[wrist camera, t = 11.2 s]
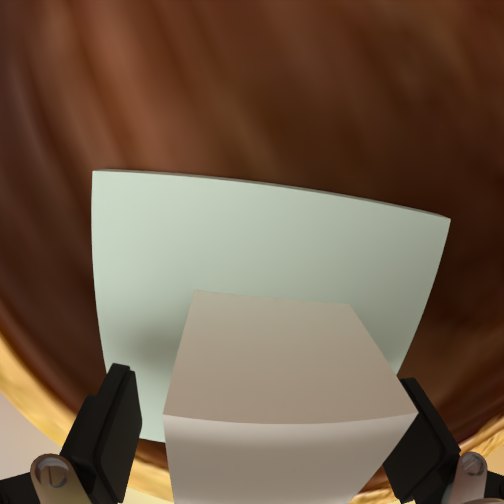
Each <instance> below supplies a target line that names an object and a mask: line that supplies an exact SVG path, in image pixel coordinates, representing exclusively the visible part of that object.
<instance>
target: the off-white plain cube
mask: <svg viewBox="0 0 504 504" xmlns="http://www.w3.org/2000/svg"><path fill="white" fill-rule="evenodd" d="M418 413H419V412H418V411H417V409H416V407H415V406H414V404H413V402H412V401H411V399H410V397H409V396H408V394H407V392H406V391H405V389H404V388H403V386H402V384H401V383H400V381H399V379H398V378H397V376H396V375H395V373H394V371H393V370H392V368H391V367H390V365H389V364H388V362H387V360H386V359H385V357H384V356H383V354H382V353H381V351H380V349H379V348H378V346H377V345H376V343H375V342H374V340H373V339H372V337H371V336H370V334H369V333H368V331H367V330H366V328H365V327H364V325H363V324H362V322H361V321H360V319H359V318H358V316H357V315H356V313H355V312H354V310H353V309H352V307H351V306H350V304H345V303H330V302H316V301H303V300H291V299H279V298H268V297H257V296H247V295H237V294H228V293H218V292H209V291H200V290H194V294H193V297H192V301H191V304H190V308H189V312H188V315H187V319H186V323H185V326H184V330H183V334H182V338H181V341H180V345H179V349H178V353H177V357H176V361H175V365H174V369H173V373H172V377H171V381H170V385H169V389H168V393H167V397H166V402H165V406H164V410H163V424H164V434H165V442H166V451H167V458H168V466H169V473H170V479H171V486H172V492H173V497H174V503H175V504H348V503H349V502H350V501H351V500H352V499H353V497H354V496H355V495H356V494H357V493H358V492H359V491H360V490H361V489H362V487H363V486H364V485H365V484H366V483H367V482H368V481H369V479H370V478H371V477H372V476H373V475H374V473H375V472H376V471H377V470H378V469H379V467H380V466H381V465H382V463H383V462H384V461H385V460H386V458H387V457H388V456H389V454H390V453H391V452H392V450H393V449H394V448H395V446H396V445H397V444H398V442H399V441H400V439H401V438H402V437H403V435H404V434H405V432H406V431H407V429H408V428H409V426H410V425H411V423H412V422H413V420H414V419H415V417H416V416H417V414H418Z"/></svg>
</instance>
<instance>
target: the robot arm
mask: <svg viewBox="0 0 504 504" xmlns="http://www.w3.org/2000/svg"><path fill="white" fill-rule="evenodd" d="M399 381H400V383H401V384H402V386H403V388H404V389H405V391H406V392H407V394H408V396H409V397H410V399H411V401H412V402H413V404H414V406H415V407H416V409H417V411H418V412H419V413H418V414H417V416H416V417H415V419H414V420H413V422H412V423H411V425H410V426H409V428H408V429H407V431H406V432H405V434H404V435H403V437H402V438H401V439H400V441H399V442H398V444H397V445H396V446H395V448H394V449H393V450H392V452H391V453H390V454H389V456H388V457H387V458H386V460H385V461H384V462H383V463H382V464H383V467H384V469H385V472H386V474H387V477H388V479H389V482H390V484H391V487H392V490H393V492H394V495H395V497H396V498H397V499H399V500H400V503H401V504H404V503H407V502H410V501H413V500H415V503H416V504H504V476H502V475H500V474H497V473H494V472H490V471H488V470H487V463H486V461H485V459H484V458H483V457H482V456H481V455H480V454H478V453H476V452H471V451H470V452H466V453H464V454H462V455H461V456H460V455H459V453H460V452H461V449H460V447H459V446H458V444H457V443H456V441H455V439H454V438H453V436H452V434H451V433H450V431H449V430H448V428H447V426H446V425H445V423H444V422H443V420H442V419H441V417H440V415H439V414H438V412H437V411H436V409H435V408H434V406H433V405H432V403H431V402H430V400H429V398H428V397H427V395H426V394H425V392H424V391H423V389H422V388H421V386H420V385H419V383H418V382H417V381H416V379H415V378H413V377H412V378H403V379H399ZM141 429H142V415H141V409H140V402H139V396H138V389H137V382H136V374H135V371H132V370H131V369H130V366H128V365H123V364H118V363H112V365H111V367H110V369H109V371H108V373H107V375H106V377H105V379H104V381H103V383H102V385H101V387H100V389H99V391H98V393H97V396H96V395H92V394H89V395H88V396H87V397H86V399H85V401H84V403H83V405H82V407H81V409H80V411H79V413H78V415H77V417H76V419H75V421H74V423H73V426H72V428H71V430H70V432H69V434H68V436H67V439H66V441H65V443H64V445H63V447H62V450H61V452H60V454H59V455H57V454H44V455H41V456H39V457H37V458H36V459H35V460H34V461H33V463H32V465H31V469H30V472H28V473H25V474H21V475H18V476H14V477H10V478H7V479H3V480H0V504H118V503H123V500H124V496H125V492H126V488H127V484H128V480H129V476H130V471H131V467H132V464H133V460H134V456H135V452H136V448H137V444H138V440H139V437H140V433H141Z"/></svg>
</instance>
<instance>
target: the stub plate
mask: <svg viewBox="0 0 504 504" xmlns="http://www.w3.org/2000/svg"><path fill="white" fill-rule="evenodd" d="M450 221H451V219H449V218H447V217H444V216H442V215H439V214H436V213H432V212H427V211H423V210H419V209H414V208H410V207H405V206H400V205H396V204H391V203H386V202H381V201H376V200H371V199H365V198H360V197H355V196H349V195H344V194H338V193H332V192H326V191H320V190H314V189H307V188H301V187H294V186H287V185H280V184H273V183H265V182H258V181H250V180H241V179H233V178H223V177H214V176H204V175H193V174H182V173H169V172H155V171H139V170H120V169H100V170H95V171H93V178H92V253H93V271H94V284H95V295H96V305H97V314H98V322H99V329H100V336H101V343H102V349H103V355H104V361H105V366H106V372H107V373H108V371H109V369H110V367H111V365H112V363H118V364H123V365H128V366H130V369H131V370H132V371H135V374H136V382H137V389H138V396H139V402H140V409H141V415H142V429H141V433H140V437H139V438H143V439H149V440H154V441H160V442H165V434H164V424H163V410H164V406H165V402H166V397H167V393H168V389H169V385H170V381H171V377H172V373H173V369H174V365H175V361H176V357H177V353H178V349H179V345H180V341H181V338H182V334H183V330H184V326H185V323H186V319H187V315H188V312H189V308H190V304H191V301H192V297H193V294H194V290H200V291H209V292H218V293H228V294H237V295H247V296H257V297H268V298H279V299H291V300H303V301H316V302H330V303H345V304H350V306H351V307H352V309H353V310H354V312H355V313H356V315H357V316H358V318H359V319H360V321H361V322H362V324H363V325H364V327H365V328H366V330H367V331H368V333H369V334H370V336H371V337H372V339H373V340H374V342H375V343H376V345H377V346H378V348H379V349H380V351H381V353H382V354H383V356H384V357H385V359H386V360H387V362H388V364H389V365H390V367H391V368H392V370H393V371H394V373H395V375H397V373H398V371H399V369H400V367H401V364H402V362H403V360H404V358H405V356H406V353H407V351H408V349H409V346H410V344H411V342H412V339H413V337H414V334H415V332H416V329H417V327H418V324H419V322H420V319H421V317H422V314H423V311H424V309H425V306H426V303H427V300H428V297H429V294H430V292H431V289H432V286H433V282H434V279H435V276H436V273H437V270H438V266H439V263H440V260H441V256H442V253H443V249H444V245H445V241H446V237H447V233H448V229H449V225H450Z"/></svg>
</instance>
